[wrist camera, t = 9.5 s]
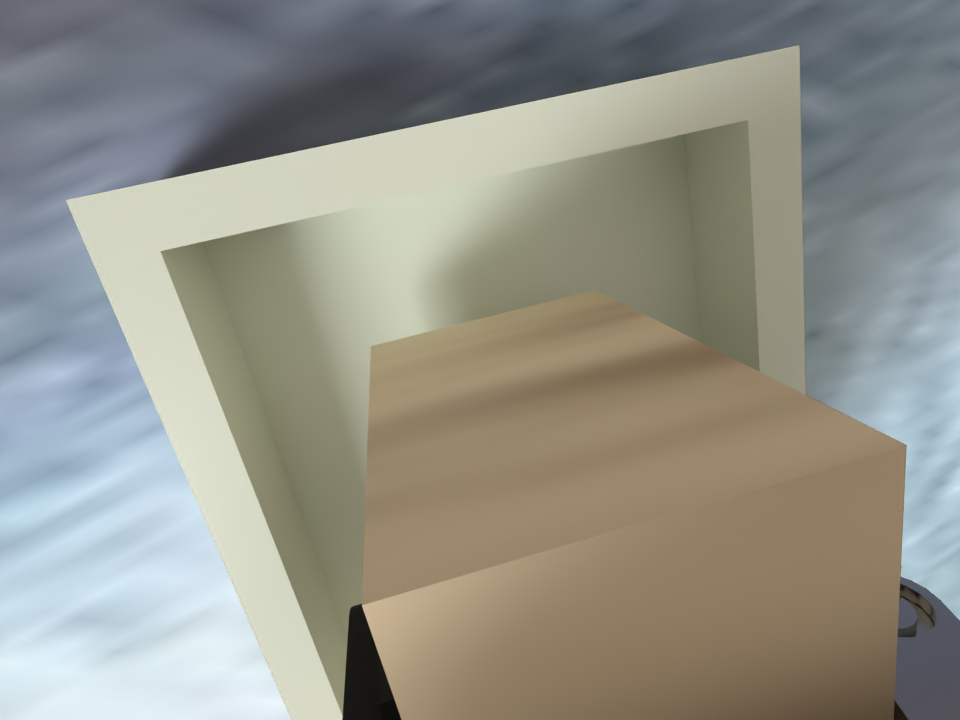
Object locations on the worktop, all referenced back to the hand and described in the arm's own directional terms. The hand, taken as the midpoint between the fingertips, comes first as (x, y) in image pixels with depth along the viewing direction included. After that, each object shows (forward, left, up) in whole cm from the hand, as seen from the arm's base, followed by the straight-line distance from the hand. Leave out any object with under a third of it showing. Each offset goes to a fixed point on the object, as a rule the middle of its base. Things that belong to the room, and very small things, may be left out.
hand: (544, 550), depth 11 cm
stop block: (0, 0, -1) cm, 1 cm away
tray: (0, 0, -4) cm, 4 cm away
